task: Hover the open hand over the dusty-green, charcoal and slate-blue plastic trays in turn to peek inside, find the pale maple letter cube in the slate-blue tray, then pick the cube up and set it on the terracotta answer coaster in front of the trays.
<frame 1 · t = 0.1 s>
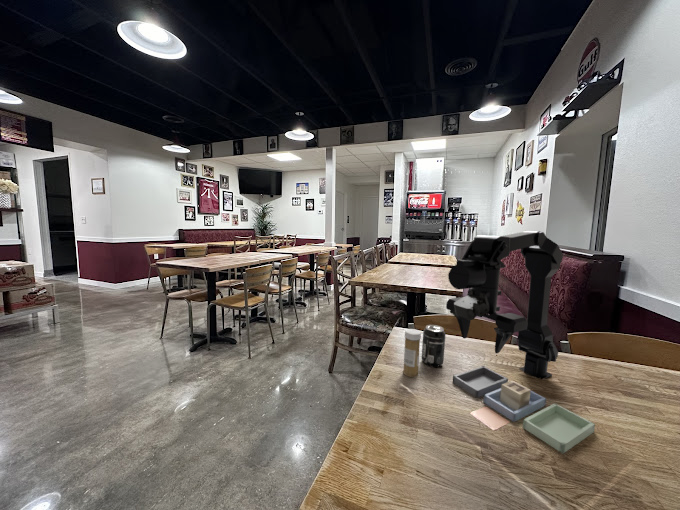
hand: (479, 345, 69), 15 cm above the table, fingers open, 9 cm apart
tray B slate: (513, 405, 68), on the table
answer coaster: (489, 419, 63), on the table
tray C green: (557, 432, 60), on the table
beverage can: (432, 363, 89), on the table
sprinkles bottle: (410, 374, 82), on the table
tray A charcoal: (479, 385, 77), on the table
letter cube: (514, 403, 68), point 1 cm above the table, touching tray B slate
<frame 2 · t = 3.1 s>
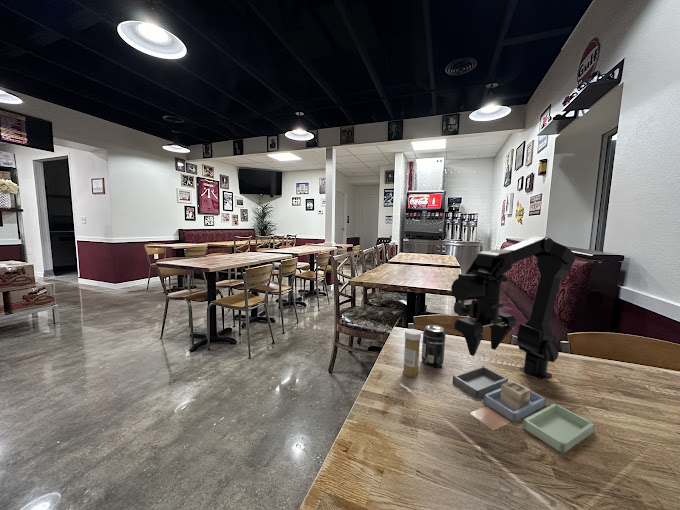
hand: (482, 352, 75), 10 cm above the table, fingers open, 9 cm apart
nothing on the table moved.
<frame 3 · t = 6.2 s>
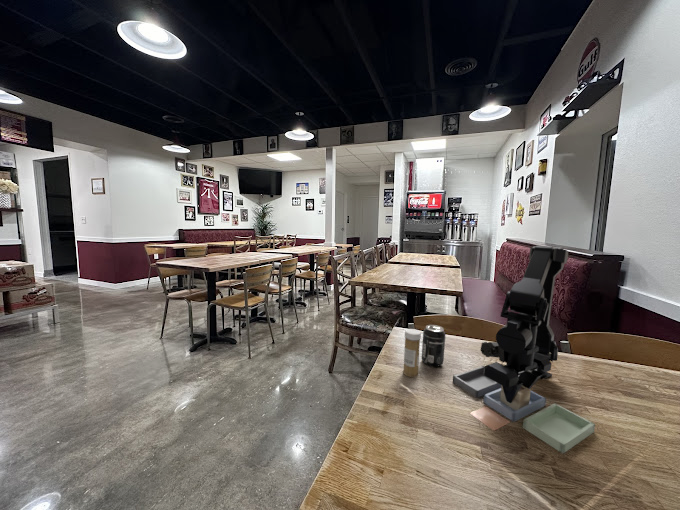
hand: (514, 399, 68), 2 cm above the table, fingers closed on letter cube, 4 cm apart
letter cube: (514, 403, 68), point 1 cm above the table, touching gripper, tray B slate
everything else where it was.
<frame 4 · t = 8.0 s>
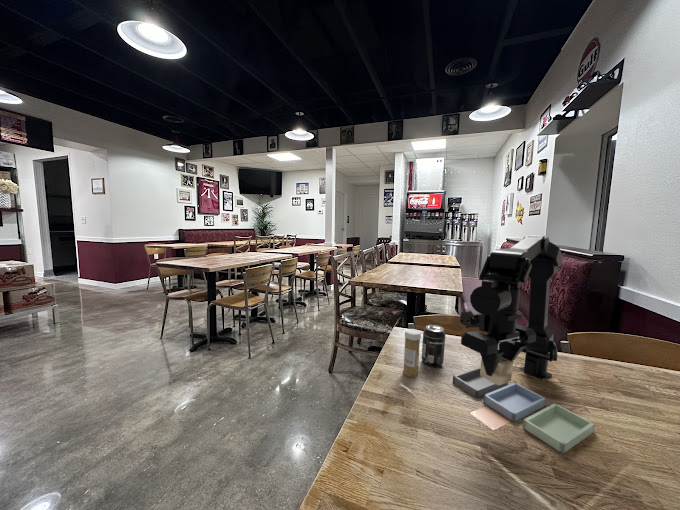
hand: (495, 373, 62), 12 cm above the table, fingers closed on letter cube, 4 cm apart
letter cube: (495, 378, 62), point 10 cm above the table, touching gripper
everything else where it was.
when the fingers open (3 cm above the table, at t = 10.0 s): letter cube stays where it is, resting on answer coaster.
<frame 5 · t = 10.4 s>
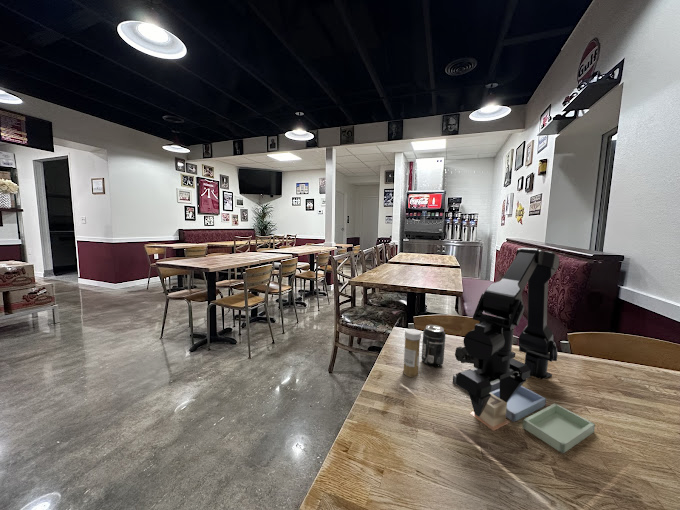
hand: (490, 409, 63), 3 cm above the table, fingers open, 9 cm apart
letter cube: (489, 417, 63), point 1 cm above the table, touching answer coaster
everything else where it was.
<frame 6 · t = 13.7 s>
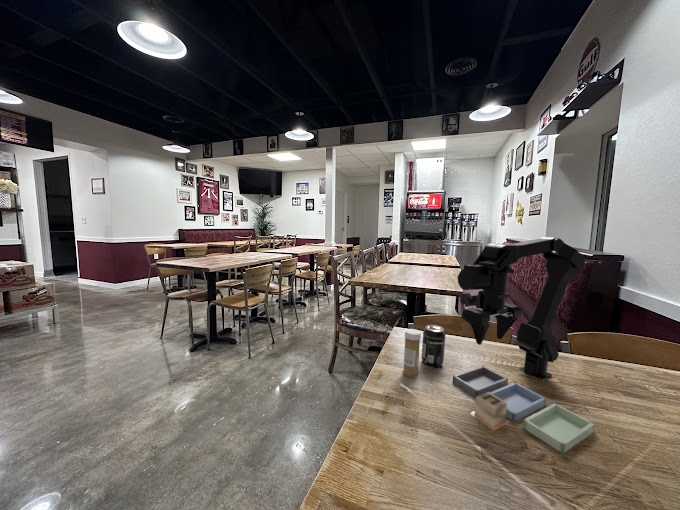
hand: (489, 341, 78), 12 cm above the table, fingers open, 9 cm apart
nothing on the table moved.
at the end: letter cube inside the target area on the answer coaster (0.0 cm from its centre), point 0.6 cm above the answer coaster's base; letter cube tilted 0°; the gripper is holding nothing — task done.
